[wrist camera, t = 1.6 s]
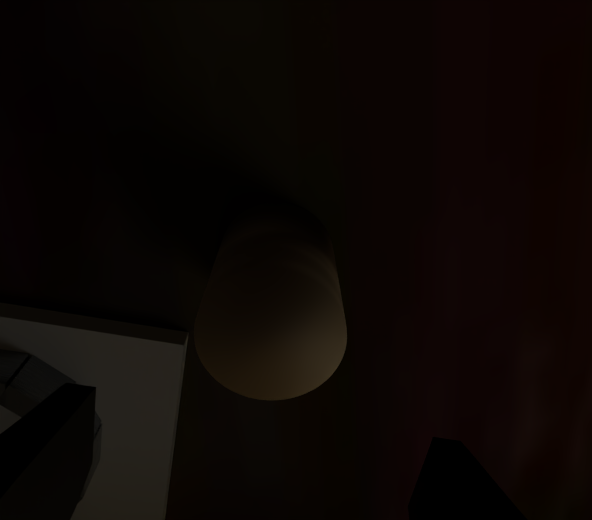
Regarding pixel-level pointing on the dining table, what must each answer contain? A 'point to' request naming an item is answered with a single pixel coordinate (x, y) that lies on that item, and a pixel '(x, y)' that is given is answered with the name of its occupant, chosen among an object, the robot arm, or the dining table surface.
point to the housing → (102, 399)
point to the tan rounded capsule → (272, 305)
